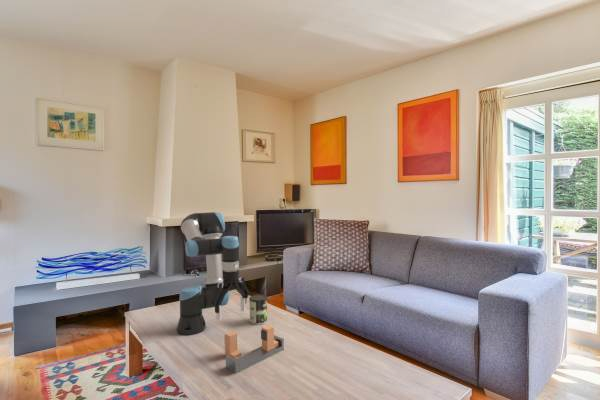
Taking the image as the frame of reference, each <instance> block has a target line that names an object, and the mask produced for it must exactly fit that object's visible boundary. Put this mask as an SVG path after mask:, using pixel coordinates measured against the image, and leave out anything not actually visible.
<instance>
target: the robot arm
mask: <svg viewBox="0 0 600 400" xmlns="http://www.w3.org/2000/svg"><path fill="white" fill-rule="evenodd" d="M225 223H226V222H225V218H224V215H223V214H222V213H221V212H219V211H218V212H215V211H212V212H195V213H191V214H189V215H187V216H185V217H184V218H183V219H182V220H181V222H180V230H181V233H182V234H184V236H185V239H186V241H185V255H186V256H187V257H202V256H205V261H206V274H207V275H206V276H207V278H206V279H207V280H206V281H205V283H204V287H203V286H202V285H201V284H193V285H188V286H186V287H184V288H182V289H180V292H179V319H178V322H177V325H176V333H177V334H178V335H183V336H188V335H189V336H190V335H197V334H199V333H201V332H203V331H205V330H206V328H207V327H206V326H207V324H206V320H205V318H204V316H203V310H205V309H211V308H214V312H215V313H214V314H216V317H215V318H216V320H218V321H222V307H224V306H226V305H227V304H228V303H229V300H230V294H231V293H230V291H232V290H236V291H237V292H238V293H239V295H240V312H243V313H245V312H246V304H247V299H249V296H250V295H251V292H250V291H249V289H248V287H247V284H246V282H245V277H241V276H240V270H239V268H240V261H239V259H240V256H239V254H240V252H239V251H240V250H239V249H240V243H239V237H238V236H237V235H235V236H234V235H226V236H223V233H224V232H225V230H226V224H225ZM239 284H240V285H239Z"/></svg>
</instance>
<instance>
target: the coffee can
mask: <svg viewBox="0 0 600 400" xmlns="http://www.w3.org/2000/svg"><path fill="white" fill-rule="evenodd" d="M248 299H249V323H250V324H252V325H255V326H256V325H259V326H260V325H263V324H266V323H267V322H268V296H266V295H264V294H254V295H251V296H249V297H248Z"/></svg>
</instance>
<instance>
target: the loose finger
mask: <svg viewBox="0 0 600 400" xmlns="http://www.w3.org/2000/svg"><path fill="white" fill-rule="evenodd" d="M224 355H225V357H226V356H227V355H229V356H231V357H232V358H234V359H235V358H237V357H239V356H241V355H242V352H241V351H239V350H238V333H237V332H234V331H232V330H231V331H229V332H226V333H224Z"/></svg>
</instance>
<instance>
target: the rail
mask: <svg viewBox="0 0 600 400" xmlns="http://www.w3.org/2000/svg"><path fill="white" fill-rule="evenodd" d="M274 340H276V341H278V342H279V346H277V347H275V348H273V349H271V350H269V351H266V350H264V349H262V345H261V346H258V347H256V348H255V349H254V348H253V350H251V351H248V352H246V353H244V354H241V356H239V357H237V358H235V359H234V358H232V357H231V356H229V355H227V356H226V355H225V368H226V369H227V370H230V371H231V372H232V373H234V374H237V373H240V372H241V371H243V370H246V369H248V368H249V367H251V366H254V365H256V364H257V363H259V362H262V361H264V360H265V359H267V358H270V357H272V356H274V355H276V354H278V353H279V352H282V351H285V350H284V348H285V342H284V340H285V339H284V338H281V337H279V336H277V335H275V334H274Z"/></svg>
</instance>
